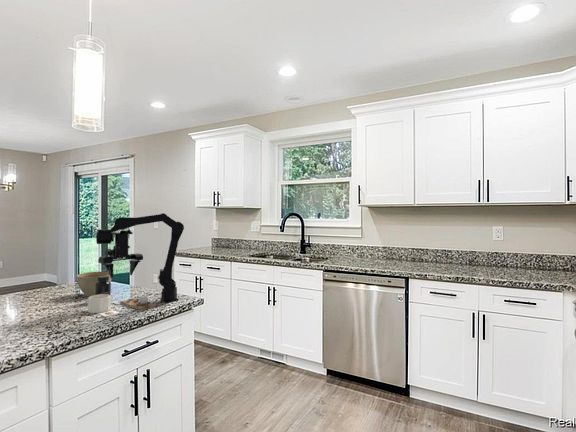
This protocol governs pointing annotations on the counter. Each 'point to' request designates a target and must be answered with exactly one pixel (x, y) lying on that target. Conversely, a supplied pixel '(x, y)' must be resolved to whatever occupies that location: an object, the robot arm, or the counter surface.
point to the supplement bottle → (103, 286)
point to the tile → (109, 313)
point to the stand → (137, 304)
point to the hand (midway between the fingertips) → (121, 276)
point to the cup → (99, 303)
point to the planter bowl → (90, 282)
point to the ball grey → (143, 300)
